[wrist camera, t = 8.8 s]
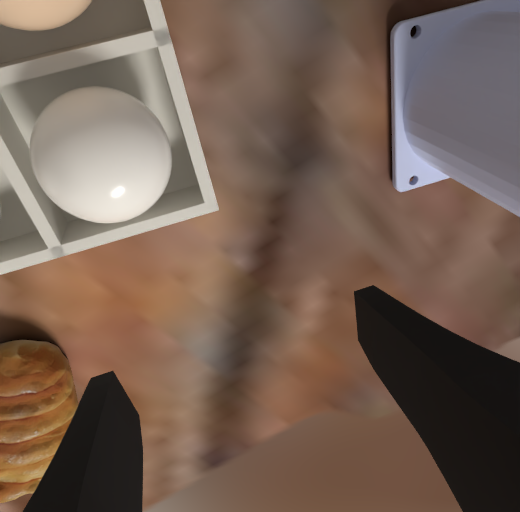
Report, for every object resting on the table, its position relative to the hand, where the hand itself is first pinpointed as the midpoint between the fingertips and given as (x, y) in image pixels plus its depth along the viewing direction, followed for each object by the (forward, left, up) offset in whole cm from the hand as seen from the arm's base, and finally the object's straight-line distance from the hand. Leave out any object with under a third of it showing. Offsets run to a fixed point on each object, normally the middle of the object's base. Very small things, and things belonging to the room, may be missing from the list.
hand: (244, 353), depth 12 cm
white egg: (+3, -5, -10) cm, 11 cm away
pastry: (+13, +8, -10) cm, 19 cm away
